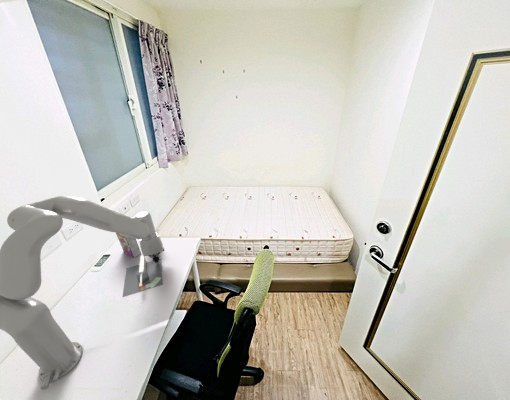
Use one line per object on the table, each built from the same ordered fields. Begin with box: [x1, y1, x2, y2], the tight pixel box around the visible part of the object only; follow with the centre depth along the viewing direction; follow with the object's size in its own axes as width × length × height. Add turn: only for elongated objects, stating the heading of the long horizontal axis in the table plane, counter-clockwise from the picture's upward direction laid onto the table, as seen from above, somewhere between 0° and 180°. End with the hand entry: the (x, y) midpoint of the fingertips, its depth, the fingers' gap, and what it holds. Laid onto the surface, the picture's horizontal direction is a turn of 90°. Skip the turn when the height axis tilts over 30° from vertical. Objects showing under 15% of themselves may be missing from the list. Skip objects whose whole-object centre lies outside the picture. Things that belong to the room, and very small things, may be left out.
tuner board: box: [122, 258, 164, 298], centre depth 115 cm, size 20×18×1 cm
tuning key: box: [136, 254, 149, 287], centre depth 114 cm, size 22×5×4 cm, turn 23°
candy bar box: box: [115, 232, 142, 258], centre depth 128 cm, size 11×5×16 cm, turn 58°
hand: (156, 261), depth 122 cm, fingers closed
